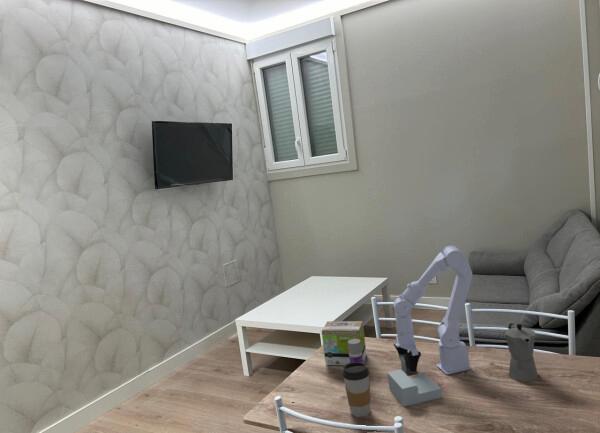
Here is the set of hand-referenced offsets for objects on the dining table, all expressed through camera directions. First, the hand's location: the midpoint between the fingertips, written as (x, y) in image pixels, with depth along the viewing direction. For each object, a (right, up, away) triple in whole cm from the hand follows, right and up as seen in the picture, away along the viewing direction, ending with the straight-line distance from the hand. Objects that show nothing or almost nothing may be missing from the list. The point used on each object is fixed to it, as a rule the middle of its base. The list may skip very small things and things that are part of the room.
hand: (408, 366), depth 167 cm
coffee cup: (-20, -7, -22) cm, 31 cm away
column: (0, -2, 0) cm, 2 cm away
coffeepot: (+35, +1, -12) cm, 37 cm away
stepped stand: (-3, -4, -15) cm, 16 cm away
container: (-18, -5, -2) cm, 19 cm away
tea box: (-21, -3, +15) cm, 26 cm away
